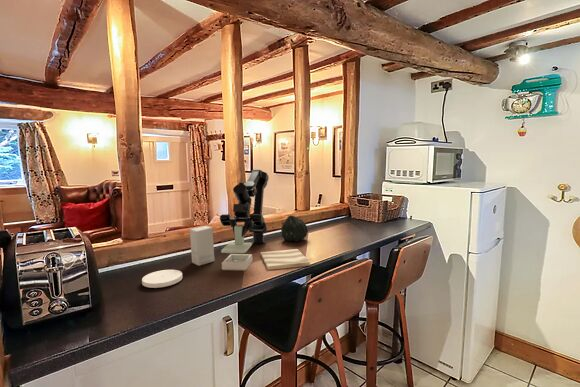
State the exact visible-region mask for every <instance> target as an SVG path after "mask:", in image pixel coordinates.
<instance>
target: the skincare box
mask: <svg viewBox="0 0 580 387" xmlns="http://www.w3.org/2000/svg"><path fill="white" fill-rule="evenodd" d="M189 239H190V240H189V241H190V252H191V253H190V254H191V263H192V264H194V265H196V266H202V265H203V266H204V265H206V264H209V263H213V262H215V261H216V260H215V245H214V228H213V227H212V226H209V225H204V226H198V227H194V228H189Z"/></svg>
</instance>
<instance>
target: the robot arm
mask: <svg viewBox="0 0 580 387" xmlns="http://www.w3.org/2000/svg"><path fill="white" fill-rule="evenodd" d="M269 177H270V176H269V174H268V173H267V172H266V171H262V170H261V169H252V170H251V173H250V175H249V177H248V179H247V180H246V182H238V184H236V185H235V186H234V187H233V189H232V190H233V193H234V195H235V198H236V200H237V201H238V203H234V204H233V205H232V212H233V214H234V216H231V215H230V214H229V213H227V214H226V213H225V214H224V213H223V214H221V215H220V216H219V220H220V223H221V225H222V226H223V227H228V226H229V227H231V228H232V231H233V236H234V238H235V232H234V227H235V226H236V225H238V224H237V223H243V225H244V227H243V231H242V237H243V236H244V237H245V235H246V234H247V232H248V231H249V233H252V240H251V243H252V245H261V244H266V241H265V240H264V236H265V235H264V233H267V232H268V230H267V229H268V227H267V224H266V221H265V217H264V216H263V204H264V193H265V191H264V189H265V188H266V187H267V186H268V181H269ZM252 198H254V201H253V200H252ZM252 201H253V202H254V203H253V211H252V212H253V213H252V214H251V207H252Z"/></svg>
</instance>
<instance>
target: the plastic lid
mask: <svg viewBox="0 0 580 387" xmlns="http://www.w3.org/2000/svg"><path fill="white" fill-rule="evenodd" d="M182 279H183V272H182V271H181V270H177V269H163V270H157V271H153V272H150V273H147V274H146V275H144V276H143V277H142V279H141V284H142V286H144V287H146V288H149V289H150V288H154V289H157V288H165V287H169V286H170V287H171V286H172V285H175V284H178V283H179V282H180V281H182Z"/></svg>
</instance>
